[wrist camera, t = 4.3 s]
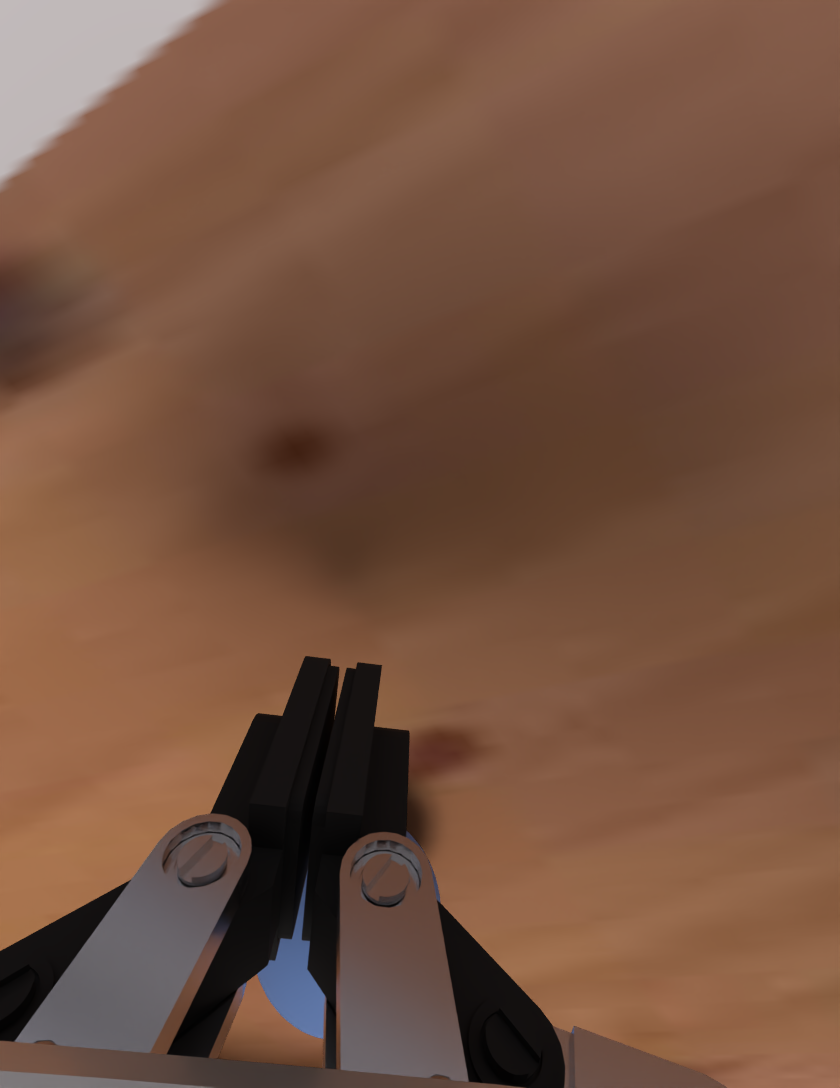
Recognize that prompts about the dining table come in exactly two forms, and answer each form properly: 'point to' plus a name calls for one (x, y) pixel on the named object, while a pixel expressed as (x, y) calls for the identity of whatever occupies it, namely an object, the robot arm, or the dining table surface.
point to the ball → (299, 978)
